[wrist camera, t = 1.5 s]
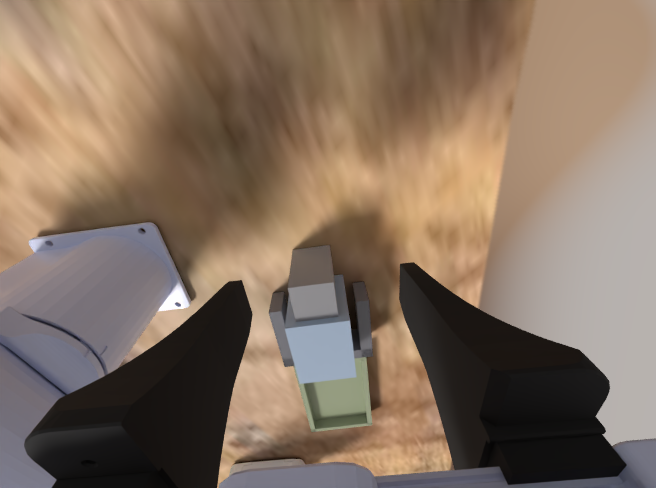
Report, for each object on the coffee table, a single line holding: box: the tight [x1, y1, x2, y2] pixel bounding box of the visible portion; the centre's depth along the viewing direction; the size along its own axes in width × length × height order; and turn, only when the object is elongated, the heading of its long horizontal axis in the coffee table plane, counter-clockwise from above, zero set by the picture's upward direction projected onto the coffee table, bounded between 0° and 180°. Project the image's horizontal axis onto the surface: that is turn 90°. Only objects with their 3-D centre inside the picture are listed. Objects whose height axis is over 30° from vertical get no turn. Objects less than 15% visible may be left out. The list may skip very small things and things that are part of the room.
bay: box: [269, 282, 373, 367], centre depth 25 cm, size 8×6×2 cm
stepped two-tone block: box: [285, 245, 356, 384], centre depth 23 cm, size 4×9×6 cm, turn 7°
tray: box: [294, 357, 372, 432], centre depth 31 cm, size 7×12×2 cm, turn 7°
